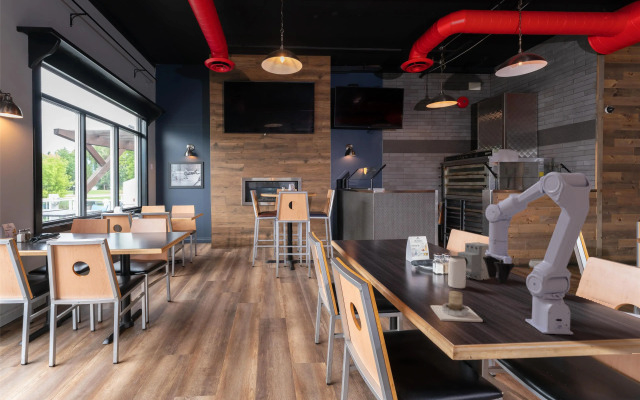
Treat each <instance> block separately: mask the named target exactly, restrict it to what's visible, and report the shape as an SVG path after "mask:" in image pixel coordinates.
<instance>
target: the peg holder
mask: <svg viewBox="0 0 640 400" xmlns="http://www.w3.org/2000/svg"><path fill="white" fill-rule="evenodd" d="M430 308H431V309H432V311H433V312H434V313H435V315H436V316H437V317H438V319H439V320H440V321H443V322H444V321H445V322H469V323H470V322H474V323H477V322H478V323H483V319H482V318H481V317H480V316H479V315H478V314H477V313H476V312H474V310H472V309H471V308H470V307H469V306H467V305H465V304H462V310H452V309H449V302H446V303H443V304H442V305H433V304H432V305H430Z"/></svg>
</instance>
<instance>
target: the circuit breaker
mask: <svg viewBox="0 0 640 400" xmlns="http://www.w3.org/2000/svg"><path fill="white" fill-rule="evenodd" d="M464 247H465V248H464V251H457V256H462V257H465V261H466V276H467V277H466V278H469V277H470V279H473V280H476V281H483V279H484V280H489V279H490V278H489V276H488V271H487V267H486V264H485V262H484V260H483V257H487V255H485V253H486V250H489V243H484V242H466V243H465V244H464Z"/></svg>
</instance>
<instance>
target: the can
mask: <svg viewBox="0 0 640 400" xmlns="http://www.w3.org/2000/svg"><path fill="white" fill-rule="evenodd" d="M447 274H448V275H447V276H448V277H447V278H448V280H447V282H448V284H447V285H448V287H450V288H453V289H459V290H460V289H465V288H466V279H467V277H466V261H465V257H462V256H458V255H450V256H449V259H448V271H447Z"/></svg>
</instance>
